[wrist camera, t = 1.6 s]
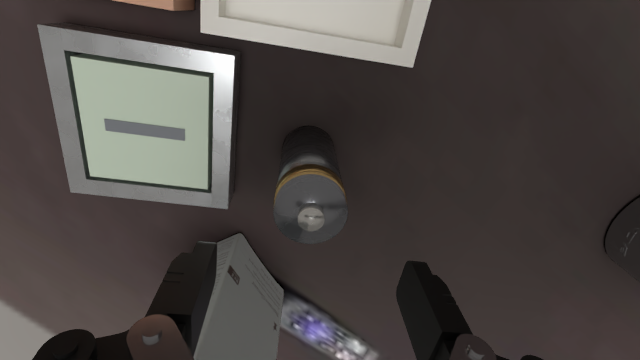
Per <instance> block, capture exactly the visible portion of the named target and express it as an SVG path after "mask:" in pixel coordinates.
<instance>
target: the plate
mask: <svg viewBox="0 0 640 360" xmlns="http://www.w3.org/2000/svg"><path fill="white" fill-rule="evenodd" d="M70 58H71V64H72V70H73V76H74V82H75V88H76V94H77V100H78V106H79V112H80V118H81V124H82V131H83V137H84V143H85V149H86V155H87V161H88V167H89V173H90V176H94V177H102V178H111V179H120V180H129V181H138V182H147V183H155V184H164V185H173V186H182V187H191V188H199V189H208V188H209V186H210V184H211V182H212V148H213V93H214V73H210V72H203V71H197V70H190V69H184V68H177V67H171V66H164V65H158V64H151V63H144V62H138V61H131V60H125V59H118V58H112V57H105V56H99V55H92V54H86V53H83V54H79V55H74V56H70Z"/></svg>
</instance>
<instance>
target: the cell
mask: <svg viewBox="0 0 640 360" xmlns="http://www.w3.org/2000/svg"><path fill="white" fill-rule="evenodd" d="M347 216H348V208H347V199H346V194H345V190H344V186H343V183H342V180H341V176H340V172H339V167H338V163H337V158H336V154H335V150H334V145H333V142H332V140H331V138H330V136H329V135H328V134H327V133H326V132H325V131H323V130H322V129H320V128H317V127H314V126H303V127H299V128H297V129H295V130H293V131H292V132H291V133H289V135H288V136H287V137H286V139H285V141H284V143H283V148H282V155H281V162H280V169H279V176H278V183H277V187H276V191H275V198H274V220H275V223H276V225H277V227H278V228H279V230H280V231H281V232H282V233H283V234H284V235H285V236H286V237H288V238H290V239H291V240H294V241H296V242H300V243H305V244H315V243H321V242H324V241H327V240H329V239H331V238H333V237H334V236H335V235H337V234H338V233H339V232H340V231H341V230H342V228H343V227H344V225H345V223H346V220H347Z"/></svg>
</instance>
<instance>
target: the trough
mask: <svg viewBox="0 0 640 360" xmlns="http://www.w3.org/2000/svg"><path fill="white" fill-rule="evenodd" d="M430 3H431V0H201V33H207V34H213V35H219V36H225V37H231V38H237V39H243V40H249V41H255V42H261V43H267V44H273V45H279V46H285V47H291V48H297V49H303V50H309V51H315V52H321V53H327V54H333V55H339V56H345V57H351V58H357V59H363V60H369V61H375V62H381V63H387V64H393V65H399V66H405V67H411V68H413V65H414V61H415V58H416V54H417V50H418V47H419V43H420V39H421V36H422V32H423V28H424V25H425V21H426V17H427V14H428V10H429V7H430Z"/></svg>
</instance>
